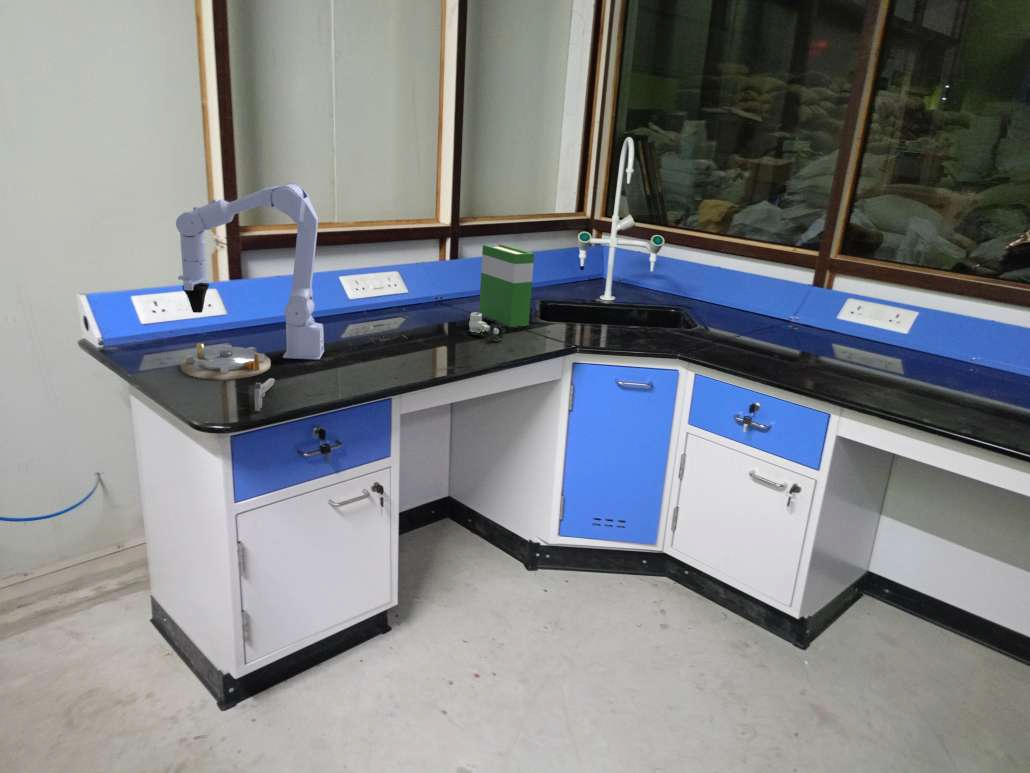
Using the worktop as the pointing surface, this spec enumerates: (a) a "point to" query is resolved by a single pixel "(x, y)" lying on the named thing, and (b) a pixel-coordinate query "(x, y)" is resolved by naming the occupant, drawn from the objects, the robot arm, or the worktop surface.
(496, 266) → the hardback book
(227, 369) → the sprocket
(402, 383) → the worktop surface
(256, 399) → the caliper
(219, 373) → the mounting board
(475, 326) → the valve
